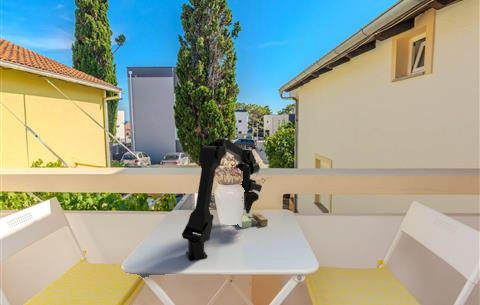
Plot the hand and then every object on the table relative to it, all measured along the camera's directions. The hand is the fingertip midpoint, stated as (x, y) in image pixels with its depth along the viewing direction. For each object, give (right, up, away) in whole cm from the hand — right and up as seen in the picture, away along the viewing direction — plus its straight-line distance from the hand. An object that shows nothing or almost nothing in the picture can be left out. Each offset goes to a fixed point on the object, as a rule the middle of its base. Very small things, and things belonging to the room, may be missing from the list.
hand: (243, 210), depth 131 cm
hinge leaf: (+1, -7, +1) cm, 7 cm away
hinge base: (+6, -7, +3) cm, 10 cm away
